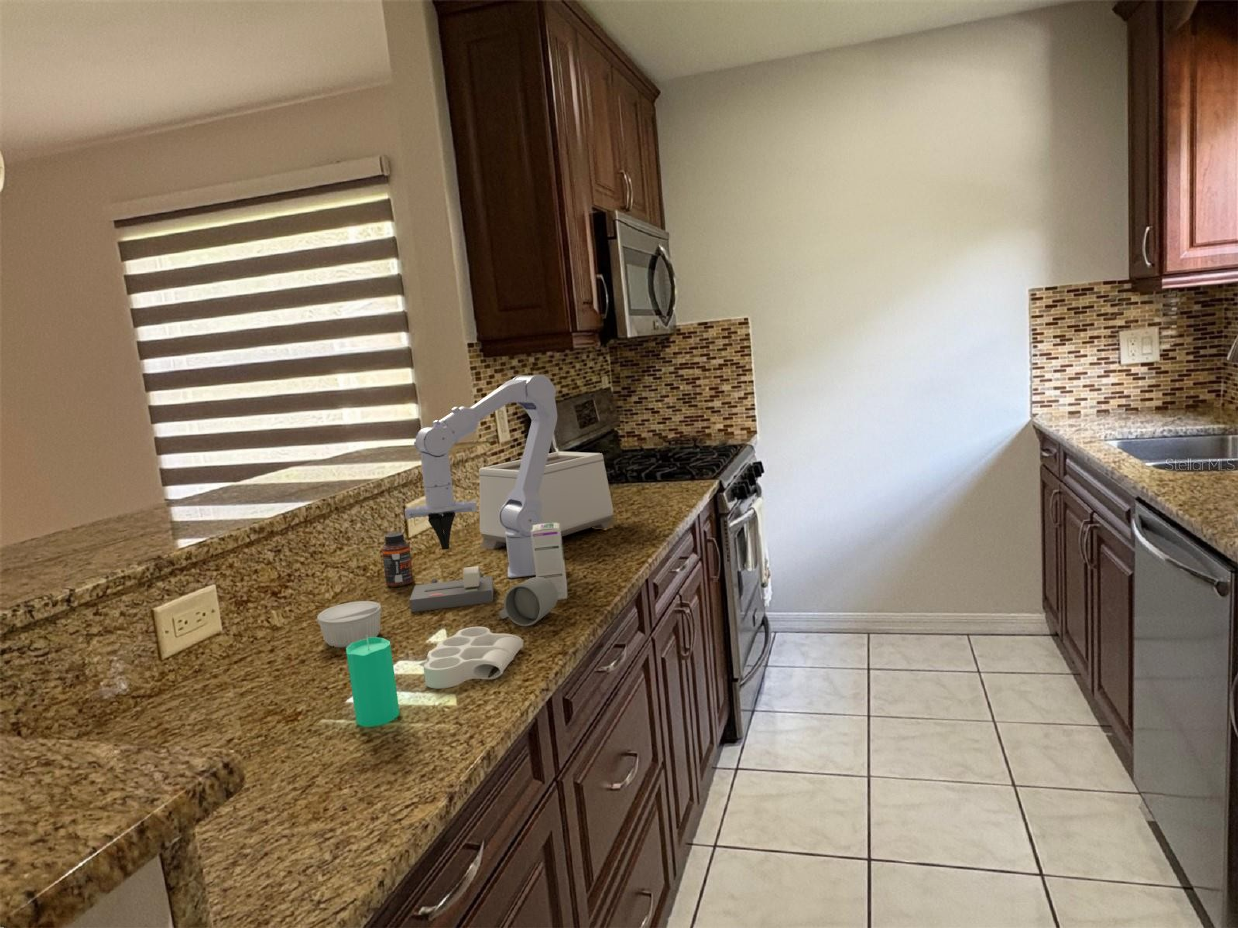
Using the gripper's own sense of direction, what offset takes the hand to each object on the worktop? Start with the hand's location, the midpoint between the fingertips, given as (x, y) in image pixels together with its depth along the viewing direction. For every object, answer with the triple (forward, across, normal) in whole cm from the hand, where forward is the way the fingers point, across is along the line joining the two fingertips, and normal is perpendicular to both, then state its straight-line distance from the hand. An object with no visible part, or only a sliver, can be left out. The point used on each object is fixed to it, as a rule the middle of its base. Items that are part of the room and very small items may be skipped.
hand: (445, 548), depth 166 cm
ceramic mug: (+10, +16, -24) cm, 30 cm away
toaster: (+10, +24, +40) cm, 48 cm away
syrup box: (+10, +21, -12) cm, 26 cm away
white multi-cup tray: (+10, +6, -42) cm, 44 cm away
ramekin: (+10, -16, -22) cm, 29 cm away
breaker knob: (+6, +5, -6) cm, 10 cm away
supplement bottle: (+10, -12, +11) cm, 19 cm away
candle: (+10, -6, -57) cm, 58 cm away
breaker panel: (+9, +1, -2) cm, 10 cm away
